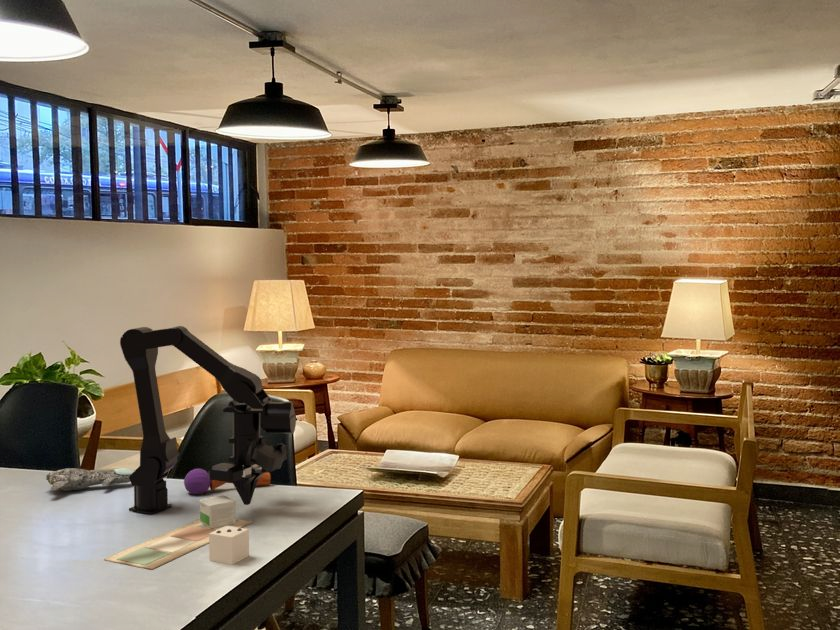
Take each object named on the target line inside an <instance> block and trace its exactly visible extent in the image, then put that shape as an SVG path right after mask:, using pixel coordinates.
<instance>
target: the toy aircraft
mask: <svg viewBox="0 0 840 630" xmlns="http://www.w3.org/2000/svg"><path fill="white" fill-rule="evenodd" d="M134 471H135V469H134V470H133V469H131V468H125V467H124V468H123V467H121V468H114V469H91V470H88V469H83V468H73V467H71V468H70V467H68V468H67V467H66V468H63V469H57V470H55V471H52V472H51V471H50V472H49V473H48V474H45V477H46V478H45V479H46V481H47V482H48V483H49V485H51V487H50V489H49V491H58V490H60V491H65V492H72V491H79V490H80V491H81V490H84V489H88V488H89V487H93V486H98V485H101V486H107V485H109V484H114V485H115V484H116V485H118V484H128V483H131V482H130V479H129V476H130V475H131V474H132V473H133V472H134Z"/></svg>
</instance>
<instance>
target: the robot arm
mask: <svg viewBox="0 0 840 630" xmlns="http://www.w3.org/2000/svg"><path fill="white" fill-rule="evenodd" d="M119 345H120V349H121V351H122V354H123V357H124V361H126V362H127V365H128V367H129V368H130V369H131V371H132V374H133V381H134V387H135V388H134V389H135V393H136V394H135V395H136V400H137V406H138V413H139V418H140V424H141V425H140V426H141V431H142V441H141V446H140V449H139V466H138V467H137V468H136V469H134V472H133V473H132V474H131V475H130V476H129V479H130V482H129V483H130V484H131V486H133V499H134V501H133V503H134V504H133V505H134V506H131V507H129V508H128V510H129V512H136V513H142V514H147V515H153V514H156V513H159V512H162V511H163V510H167V509H169V508H172V505H173V504H171V503H169V502H168V501H169V500H168V495H169V494H168V492H169V491H168V488H167V480H164V479H165V478H166V477H168V475H169V473H170V470H171V469H173V468H174V467H175V465H176V464H177V463H178V462H177V461H178V457H179V456H180V452H179V450H178V443H177V442H178V441H177V437H176V436H175V437H171V438H170V436H169V434H168V433H167V431H166V429H165V428H166V427H165V420H164V415H163V410H162V405H161V404H162V401H161V395H160V391H159V390H160V389H159V386H158V385H159V384H158V377H157V372H156V364H157V359H158V356H159V355H158V354H159V348H163V347H170V346H173V347H174V348H175V349H178V351H180V352H181V353H182V354H183V355H185V356H186V357H188V358H189V359H190V360H191V361H193V362H194V363H196V364H197V365H198V366H199V367H201V368H202V369H203V370H205V371H206V372H207V373H208V374H209V375H212V377H214V378H215V379H216V380H217V381H218V383H219V384H220V386H221V388H222V389H223V390H224V391H225V392H226V393H227V395H229V397H230V398H231V399H232V400H230V401H229V402H228V404H227V406H225V407H224V408H223V409H222V412H223V413H229V414H230V413H232V437H229V438H228V443H229V444H232V455H231V456H229V457H228V462H221V463H218V464H214V465H212V466H211V467H210V468H209V470H208V474H209V480H216V481H223V482H232V483H231V484H232V485H233V486H234V488H235V490H236V491H237V494H238V495H239V497H240V499H241V502H242V504H243V505H245V506H249V505H250V504H251V502H252V500H253V495H254V493H255V489H256V487H257V485H256V484H257V481H258V479H259V478H260V477H261V476H262V475H263V474H264V473H267V472H269V473H271V472H274V471H275V470H280V469H281V467H282V464H283V462H284V461H286V460H287V459H288V457H287V454H288V451H287V446H286V444H284V443H282V442H280V443H277V444H275V445H267V444H266V438H265V436H262V435H261V429H262V431H265V433H266V434H291V435H292V434H294V433H295V430H296V427H297V425H296V424H297V414H296V412H295V407H294V401H292V400H291V401H289V400H286V401H273V400H272V398H271V397H270V396H269V394H268V393H267V392H266V391H265V390H264V388H263V381H262V379H261V377H260V376H259V375H257V374H256V373H254V372H252V371H249V370H247V369H246V368H245V367H244V368H243V367H241V366H238V365H235V364H233V363H231V362H229V361H228V360H227V359H226V358H224V357H223V356H222V355H220V354H219V353H218V352H217V351H215V350H214V349H212V348H211V347H210V346H209V345H207V344H206V343H204V342H203V341H202V340H200V339H199V338H198V337H197V336H195V335H194V334H193V333H191V332H190V330H189V329H187V327H186V326H183V325H178V326H172V327H169V328H161V329H155V330H154V329H153V328H151V327H147V326H141V327H136V328H131V329H128V330H126V331H125V332H123V334H122V335H121V336H120V339H119Z"/></svg>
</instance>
